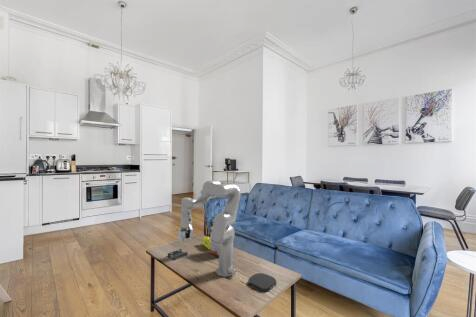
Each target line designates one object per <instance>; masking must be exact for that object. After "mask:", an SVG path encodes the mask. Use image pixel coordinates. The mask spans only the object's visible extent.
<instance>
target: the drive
mask: <svg viewBox="0 0 476 317" xmlns="http://www.w3.org/2000/svg"><path fill="white" fill-rule="evenodd" d="M188 230H189V228H188ZM186 233H187V232H186V229H182V230H181V229H179V230H177V240H178V242H184V241H187V240H191V239H194V228H193V227H192V230H191V232H190V238H186Z"/></svg>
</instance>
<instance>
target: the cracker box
mask: <svg viewBox="0 0 476 317" xmlns="http://www.w3.org/2000/svg"><path fill="white" fill-rule="evenodd" d="M212 228H213V226H211V227H210V229H209V230H210V231H209V232H210V233H209V234H210V236H209V237H210V250H209V253H210V254H211V255H215V256H218V257H219V244H216V243H214V242H213V240H212V237H211V233H212Z"/></svg>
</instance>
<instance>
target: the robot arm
mask: <svg viewBox="0 0 476 317" xmlns="http://www.w3.org/2000/svg"><path fill="white" fill-rule="evenodd" d="M241 196H242V193H241V190H240V187H239V186H238V185H237V184H235V183H232V182H231V183H223V184H222V183H221V181H219V180H217V179H214V180H206V181H204V183H203V184H202V189H201V190H200V196H198V197H195V198H191V197H186V196H185V197H182V198H181V208H180V209H181V210H180V211H181V212H180V213H181V214H180V222H179V223H180V224H179V227H180V230H182V229H186V232H187V233H186V238H190V232H191V230H192V228H193V217H192V216H193V215H192V210H195V209H197V208H202V207H203V206H204V205H206V204H207V203H208V202H209V201H210V199H211V198H212V197H216V198H227V197H228V198H227V200H226V202H225V205H224V206H225V207H224V209H223V211H221V212H219V213H217V214H216V216H215V217H214V220H213V224H212V227H213V228H212V233H211V237H212V240H213V242H214V243H216V244H219V256H218V267H217V269H216V271H215V273H216V275H218V276H219V277H223V278H224V277H225V278H227V277H228V278H229V277H232V276H235V275H236V272H237V270H236V269H235V266H234V264H233V262H234V259H233V258H234V256H233V255H234V240H235V228H234V227H233V224H234V223H235V222H236V218H237V214H238V210H239V205H240V201H241ZM188 228H189V230H188Z"/></svg>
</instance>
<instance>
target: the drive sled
mask: <svg viewBox="0 0 476 317" xmlns="http://www.w3.org/2000/svg"><path fill="white" fill-rule="evenodd" d="M186 256H188V251H185V252H184V251H182V248H180V249H176V250H173V251H170V252H168V253H167V257H168V258H170V259H171V260H173V261H176V260H179V259H180V258H183V257H186Z"/></svg>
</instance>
